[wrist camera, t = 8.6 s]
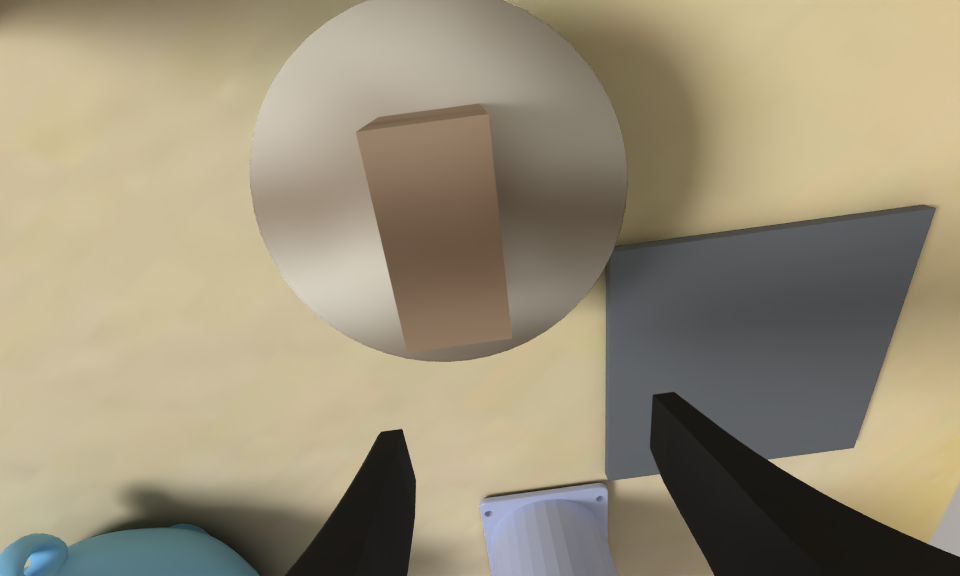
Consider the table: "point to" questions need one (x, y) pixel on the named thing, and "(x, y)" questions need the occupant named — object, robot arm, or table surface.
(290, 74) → the lid
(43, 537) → the decorative pot
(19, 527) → the table surface
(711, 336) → the mat
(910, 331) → the table surface
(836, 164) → the table surface
